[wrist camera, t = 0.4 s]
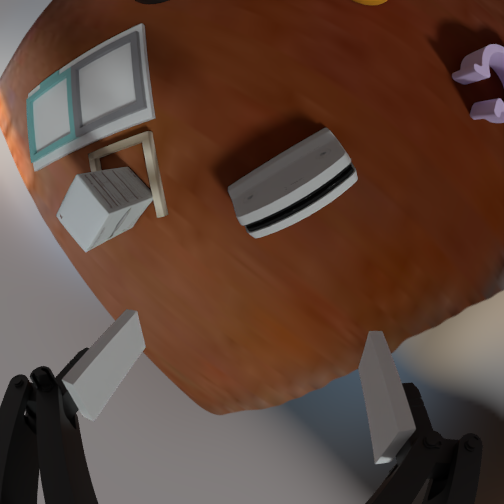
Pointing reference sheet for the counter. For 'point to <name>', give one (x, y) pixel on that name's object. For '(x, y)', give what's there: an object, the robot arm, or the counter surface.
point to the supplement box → (103, 205)
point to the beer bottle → (370, 2)
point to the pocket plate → (91, 98)
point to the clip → (478, 69)
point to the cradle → (151, 165)
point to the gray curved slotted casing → (292, 184)
